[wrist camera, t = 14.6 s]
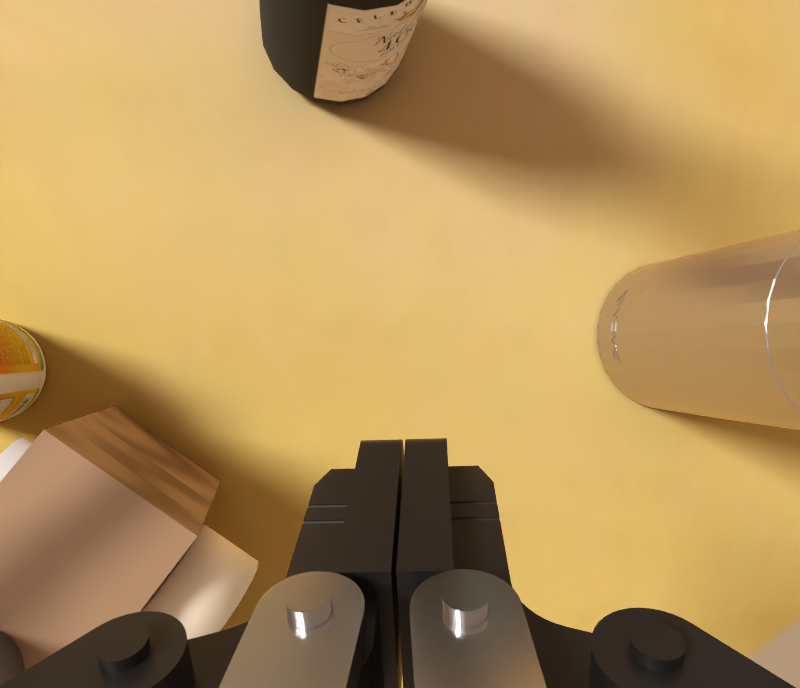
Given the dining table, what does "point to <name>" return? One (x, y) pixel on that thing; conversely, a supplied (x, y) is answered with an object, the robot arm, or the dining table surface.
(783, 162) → the dining table surface
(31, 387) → the supplement bottle
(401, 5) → the wine bottle
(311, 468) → the dining table surface
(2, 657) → the dark grey cylinder
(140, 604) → the brown wooden block
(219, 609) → the knob cream
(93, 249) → the dining table surface
